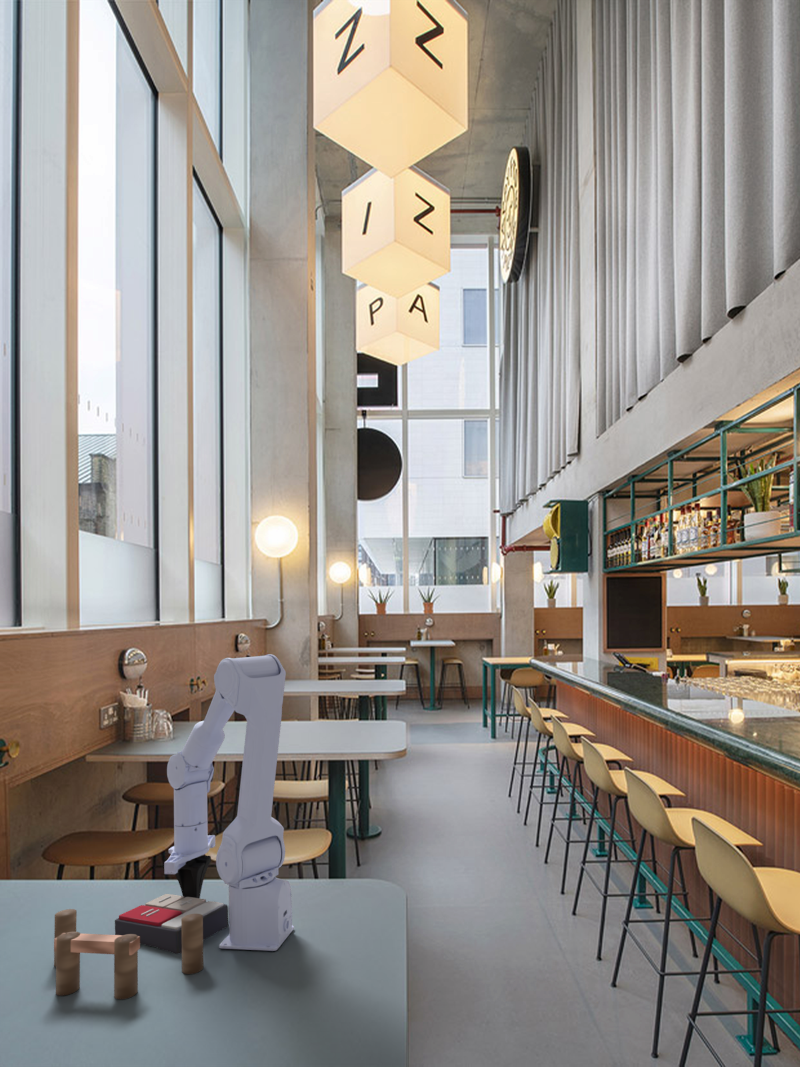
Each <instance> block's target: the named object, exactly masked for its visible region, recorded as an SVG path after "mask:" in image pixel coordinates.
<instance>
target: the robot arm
mask: <svg viewBox="0 0 800 1067" xmlns="http://www.w3.org/2000/svg"><path fill="white" fill-rule="evenodd" d="M286 674H287V672H286V670H285V668H284V667H283V665H282V662H281V660H280V659H279V658H278V657H277V656H276V655H274V654H271V653H270V654H268V653H267V654H265V655H259V656H258V655H256V656H246V657H245V656H244V657H234V658H232V657H226V658H223V659H221V661H220V662H219V664H218V665H217V667H216V671H215V673H214V675H213V680H214V681H213V683H214V688H215V693H213V694H214V695H213V697H212V700H211V703H210V704H209V706H208V710H207V713H206V715H205V717H204V719H203V720H202V721H201V720H200V721H198V722H197V723H195V724H194V726H193V728H192V730H191V732H190V734H189V736H188V738H187V740H186V742H185V744H184V745H183V747H182V750H181V751H177V753H176V754H173V755H171V756H170V757H169V760H168V762H167V766H166V776H167V780H168V783H169V785H170V787H172V789H173V829H174V830H173V832H174V833H173V842H174V843H173V844H174V845H173V846H171V847H170V848H168V854H170V856H169V857H168V859H167V860H165V861H164V862H163V863H164V864H163V865H164V866H163V867H164V869H163V870H164V873H163V874H164V875H174V876H175V877H176V880H177V882H178V885H179V887H180V891H181V894H182V895H181V896H184V898H185V897H193V898H200V899H201V893H202V888H203V884H204V879H205V876H206V873H207V870H208V868H209V865H210V864H211V861H212V857H211V855H206V854H207V853H209V851H210V849H212V848H215V847H216V835H215V834H212V835H210V834H209V832H208V831H209V829H208V824H209V823H208V793H210V791H211V782H212V779H213V777H214V773H215V771H214V770H215V767H214V765H213V761H214V759H215V757H216V755H217V754H218V753H219V752H218V751H219V750H220V748H221V747H222V745H223V743H224V740H225V731H224V727H225V726H226V724H227V723H228V721H229V720H230V718H231V717H232V715H233V713H234V712H235V713H237V714H240V715H243V717H245V719H246V726H245V736H244V746H243V754H242V755H243V757H242V764H241V766H242V767H241V774H240V775H241V776H240V786H239V796H238V803H237V804H238V805H237V815H236V817H235V818H234V819H233V821H232V822H231V823H229V825H228V826H227V827H226V828H225V829H224V830H223V831H222V837H221V838H222V839H221V843H220V845H219V846H218V850H217V853H216V858H215V866H216V871H217V873H218V876H219V878H220V879H221V880H222V881H223V882H224V884H226V885H228V924H229V926H228V929H229V934H228V935H227V936H226V937H225V938H224V939H223V940H222V941H221V942H220V943H219V944H218V948H220V949H225V950H251V951H270V952H271V951H272V952H273V951H274V952H275V951H278V949H280V947H281V945H282V944H283V943H284V942H285V940H286V939H287V938H288V937H289V936H290V934H291V933H292V932H293V930H295V926H294V925H293V909H292V908H293V903H292V902H293V901H292V887H291V886H292V885H291V883H290V882H289V880H286V879H281V878H278V877H277V876H279V868H281V867H282V865H283V864H284V862H285V857H286V845H285V839H284V832H285V828H284V826H283V825H282V824H281V823H280V822H279V821H278V820H277V819H276V818H274V817H272V814H273V812H272V811H273V802H274V792H275V784H276V782H275V781H276V772H277V764H278V763H277V762H278V754H279V747H280V746H279V744H280V737H281V735H280V734H281V726H282V725H281V724H282V718H283V717H282V716H283V714H282V713H283V708H282V707H283V703H284V695H285V694H284V693H285V686H286V685H285V684H286ZM208 834H209V835H208Z"/></svg>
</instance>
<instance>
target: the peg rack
mask: <svg viewBox="0 0 800 1067" xmlns="http://www.w3.org/2000/svg"><path fill="white" fill-rule="evenodd" d="M77 916H78V914H77V909H75V908H69V909H63V910H60V911H57V912H56V913H55V914H54V933H53V934H54V937H53V939H54V940H53V959H54V960H53V966H54V967H55V995H56V996H61V997H64V996H68V995H72V994H74V993H76V992H77V991H79V990H80V985H81V982H80V981H81V953H82V954H97V955H98V954H99V955H100V954H101V955H113V957H114V958H113V960H114V963H113V964H114V965H113V978H114V979H113V992H114V993H113V998H114V999H115V1000H116V999H117V1000H127V999H130V998H132V997H134V996H135V995H137V993H138V992H139V987H138V986H139V983H138V982H139V980H138V978H139V975H138V974H139V972H138V969H139V968H138V967H139V966H138V965H139V963H138V961H139V958H138V957H139V954H138V953H139V952H138V951H139V950H140V949H141V944H140V936H137V935H135V934H127V935H115V934H99V933H81V932H79V931H77ZM181 924H182V952H181V972H182V973H183V974H184V975H193V974H194V975H195V974H197V973H199V972H201V971H203V969H204V940H203V915H202V914H189V915H186V916H184V917H183V918H182V919H181Z"/></svg>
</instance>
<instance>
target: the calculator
mask: <svg viewBox="0 0 800 1067" xmlns="http://www.w3.org/2000/svg"><path fill="white" fill-rule="evenodd" d="M189 914H202V915H203V941H205V940H206V939H208V938H210V937H212V936H213V935H215V934H217V933H219V932H221V931H222V930H224V929H226V928H229V905H228V904H226V903H224V902H218V901H211V900H210V901H209V900H206V898H201V897H200V898H193V897H185V898H184V896H183V895H179V894H171V893H165V894H163V895H160V896H158V897H156V898H154V899H151V900H150V901H148V902H146V903H145V904H141V905H139V906H136V907H134V908H132V909H130V910H127V911H125V912H123V913H121V914H119V915H118V918H116V919H114V935H127V934H135V935H137V936H140V945H144V946H148V947H154V948H157V949H159V950H161V951H164V952H169V953H172V954H176V955H177V954H182V924H181V919H182V918H183V917H184V916H186V915H189ZM204 939H205V940H204Z"/></svg>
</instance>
